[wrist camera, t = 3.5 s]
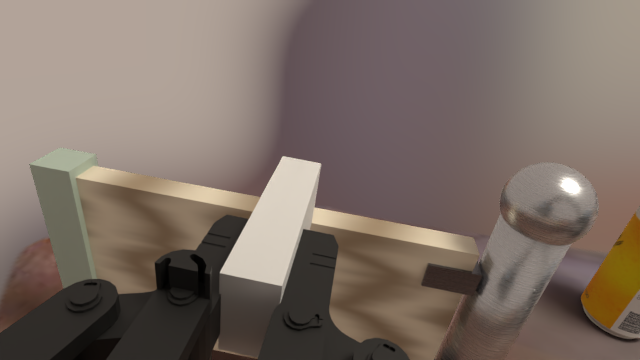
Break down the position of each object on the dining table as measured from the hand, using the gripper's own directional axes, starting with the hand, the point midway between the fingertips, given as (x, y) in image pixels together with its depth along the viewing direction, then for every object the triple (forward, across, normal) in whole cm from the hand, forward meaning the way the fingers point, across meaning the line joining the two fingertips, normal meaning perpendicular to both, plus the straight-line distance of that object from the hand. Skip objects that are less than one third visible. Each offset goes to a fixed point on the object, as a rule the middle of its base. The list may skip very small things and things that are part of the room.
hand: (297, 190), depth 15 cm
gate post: (+6, +12, -20) cm, 24 cm away
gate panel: (+6, -3, -18) cm, 19 cm away
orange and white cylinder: (+19, +32, -20) cm, 42 cm away
